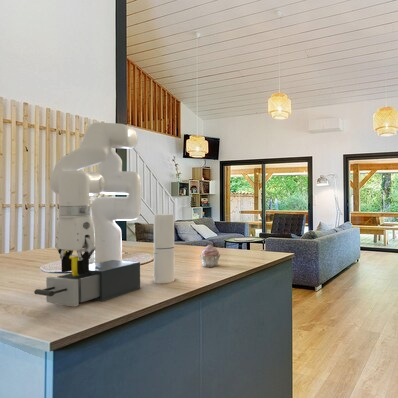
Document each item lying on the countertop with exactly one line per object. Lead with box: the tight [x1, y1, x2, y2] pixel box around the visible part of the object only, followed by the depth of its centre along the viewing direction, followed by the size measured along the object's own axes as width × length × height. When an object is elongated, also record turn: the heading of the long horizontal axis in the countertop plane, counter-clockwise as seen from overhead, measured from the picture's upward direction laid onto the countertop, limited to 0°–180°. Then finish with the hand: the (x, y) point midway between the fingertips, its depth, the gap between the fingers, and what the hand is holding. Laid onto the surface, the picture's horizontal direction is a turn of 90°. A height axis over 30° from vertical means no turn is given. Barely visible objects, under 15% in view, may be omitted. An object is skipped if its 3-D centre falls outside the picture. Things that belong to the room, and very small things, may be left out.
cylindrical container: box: [153, 213, 175, 284], centre depth 121 cm, size 7×7×25 cm
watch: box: [69, 254, 79, 276], centre depth 96 cm, size 6×3×6 cm, turn 40°
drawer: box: [33, 272, 100, 307], centre depth 96 cm, size 18×11×7 cm, turn 161°
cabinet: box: [88, 260, 141, 302], centre depth 107 cm, size 15×13×9 cm
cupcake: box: [199, 243, 221, 268], centre depth 147 cm, size 9×9×10 cm
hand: (75, 271), depth 97 cm, fingers closed on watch, 5 cm apart
